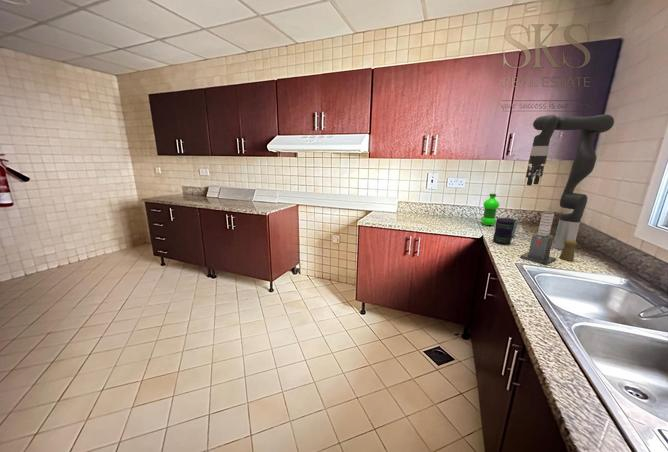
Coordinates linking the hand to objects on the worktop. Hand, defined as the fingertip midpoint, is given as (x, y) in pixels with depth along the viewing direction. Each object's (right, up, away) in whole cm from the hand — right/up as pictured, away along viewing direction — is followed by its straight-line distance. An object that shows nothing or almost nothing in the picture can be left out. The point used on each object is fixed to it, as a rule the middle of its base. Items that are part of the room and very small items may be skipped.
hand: (532, 184), depth 146 cm
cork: (+14, -41, -5) cm, 44 cm away
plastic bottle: (+12, -23, +63) cm, 68 cm away
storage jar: (-4, -34, +21) cm, 40 cm away
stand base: (-2, -41, -6) cm, 41 cm away
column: (-2, -35, -8) cm, 36 cm away
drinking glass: (+9, -30, +35) cm, 47 cm away
